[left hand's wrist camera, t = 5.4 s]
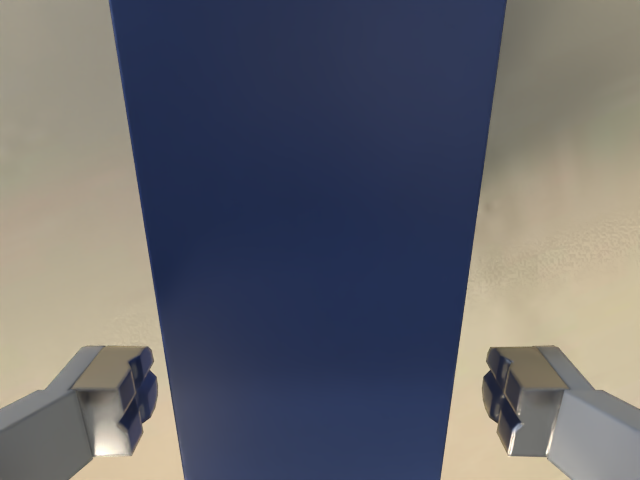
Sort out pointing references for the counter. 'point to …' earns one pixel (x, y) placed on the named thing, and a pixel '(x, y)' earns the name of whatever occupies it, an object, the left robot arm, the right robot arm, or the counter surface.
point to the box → (309, 222)
